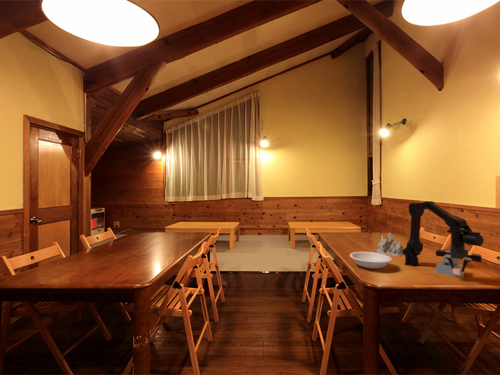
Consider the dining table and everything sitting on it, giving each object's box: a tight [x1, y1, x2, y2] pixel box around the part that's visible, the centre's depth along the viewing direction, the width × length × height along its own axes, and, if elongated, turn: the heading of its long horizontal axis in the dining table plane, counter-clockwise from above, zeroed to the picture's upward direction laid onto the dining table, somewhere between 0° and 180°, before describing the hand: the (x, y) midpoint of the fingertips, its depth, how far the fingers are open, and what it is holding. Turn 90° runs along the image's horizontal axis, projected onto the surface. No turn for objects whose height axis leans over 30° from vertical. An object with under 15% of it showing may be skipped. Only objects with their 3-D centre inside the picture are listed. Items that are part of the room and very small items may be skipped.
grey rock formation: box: [376, 232, 405, 257], centre depth 191 cm, size 16×16×15 cm
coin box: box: [435, 260, 465, 278], centre depth 146 cm, size 12×9×5 cm
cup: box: [442, 248, 460, 264], centre depth 158 cm, size 8×8×10 cm
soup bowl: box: [349, 251, 393, 270], centre depth 159 cm, size 24×24×7 cm
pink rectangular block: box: [453, 267, 463, 275], centre depth 136 cm, size 3×5×2 cm, turn 122°
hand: (458, 271), depth 136 cm, fingers closed on pink rectangular block, 3 cm apart
